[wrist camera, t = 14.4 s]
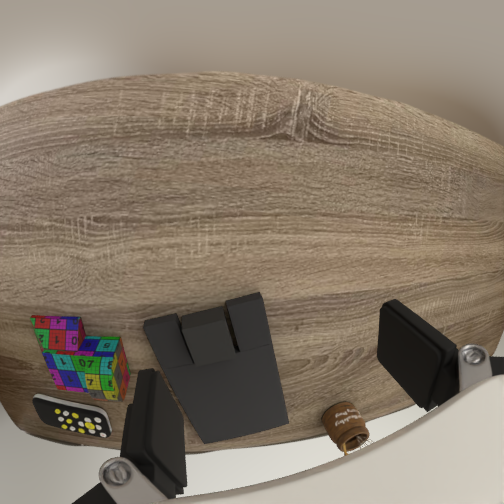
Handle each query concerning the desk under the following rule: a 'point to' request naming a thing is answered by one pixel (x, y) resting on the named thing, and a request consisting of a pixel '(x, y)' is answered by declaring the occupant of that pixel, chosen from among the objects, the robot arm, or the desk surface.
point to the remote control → (72, 416)
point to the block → (82, 358)
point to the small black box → (208, 336)
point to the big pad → (224, 375)
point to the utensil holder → (345, 426)
